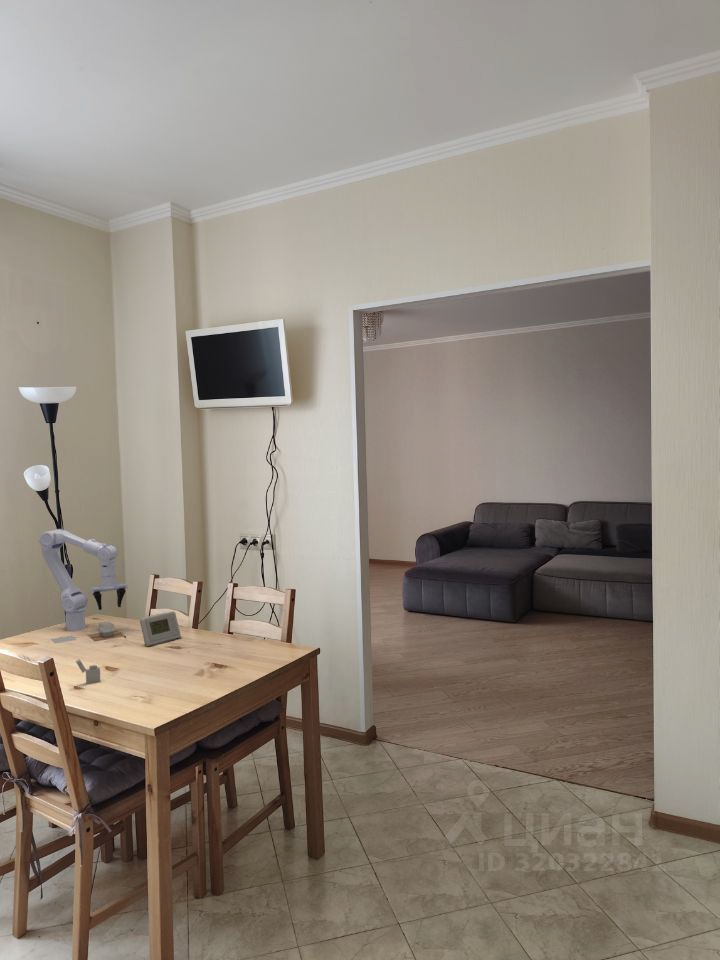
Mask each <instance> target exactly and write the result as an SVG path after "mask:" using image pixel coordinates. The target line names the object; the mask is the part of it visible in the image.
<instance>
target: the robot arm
mask: <svg viewBox="0 0 720 960" xmlns="http://www.w3.org/2000/svg"><path fill="white" fill-rule="evenodd" d="M38 542H39V544H40V546H41V554H42V557H43V560H44V561H45V563H46V565H47V567H48V569H49V570H50V571H49V572H51V575H52V576H53V578H54V580H55V582H56V584H57V585H58V587H59V589H60V592H61V595H60V597H59V598H60V600H61V605H62V609H63V610H64V611H65V618H64V619H65V629H66V631H69V632H76V631H82V630H85V629H86V606H87V605H88V601H89V599H88V596H87V595H86V594H85V593H84V592H83V591H82V590H81V588H80V587H77V586H76V585H75V583H74V581H73V579H72V578H71V575H70V574H69V572H68V569H66V566H65V565H64V563H63V561H62V559H61V557H60V555H59V551H60V549H61V548H62V546H63V545H64V544H65V543H67V544H69V545H73V546H76V547H79V548H81V549H82V550H83V552H85V553H87V554H88V555H91V556H94V557H96V558H98V560H99V563H100V564H99V565H100V576H101V577H100V579H101V583H100V584H101V585H100V586H94V587H89V593H90V594H92V595H93V597H94V599H95V601H96V604H97V609H98V610H99V611H101V610H103V609H102V595H103V594H102V593H103V592H110V591H116V597H117V598H116V599H117V601H116V602H117V607H118V608H121V607H122V606H121V605H122V602H123V598H124V596H125V594H126V590H128V589H129V588H128V583H117V567H116V564H117V563H116V558H117V557H118V555H119V553H118V549H117V547H116V546H114V545H111V544H110V545H107V543H102V542H98V541H97V539H95V538H92V539H87V540H86V539H84V538H82V537H79V536H77V535H75V534H74V533H71V532H70V531H68V530H64V529H62V528H56V529H54V530H49V531H48V530H47V531H44V532H42V533H41V534H40V537H39V539H38ZM101 592H102V593H101Z"/></svg>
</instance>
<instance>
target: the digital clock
mask: <svg viewBox="0 0 720 960" xmlns="http://www.w3.org/2000/svg"><path fill="white" fill-rule="evenodd" d="M139 623H140V628H141V632H142V637H143V641H144V645H145V646H146V647H150V646H156V645H155V644H157V645H160V644H159V643H161V644H164V643H163V642H165V643H167V642H166V641H168V642H171V641H170V640H172V641H174V640H178V639H180V638H181V637H182V635H181V630H180V627H179V626H180V625H179V622H178V618H177V614H176V612H175V611H174V610H173V611H168V612H167V611H166V612H163V613H157V614H153V615H149V616H145V617H141V618H140V619H139ZM177 638H178V639H177ZM173 639H174V640H173Z"/></svg>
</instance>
